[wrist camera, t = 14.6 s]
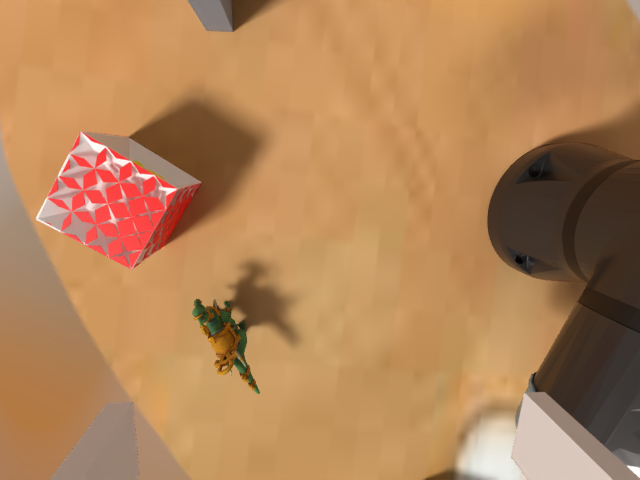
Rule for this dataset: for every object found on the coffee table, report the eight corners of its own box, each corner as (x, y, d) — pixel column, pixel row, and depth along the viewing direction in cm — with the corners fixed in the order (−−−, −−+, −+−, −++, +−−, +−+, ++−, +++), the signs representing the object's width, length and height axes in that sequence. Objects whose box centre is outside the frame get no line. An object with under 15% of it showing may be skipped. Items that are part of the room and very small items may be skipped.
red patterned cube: (202, 182, 34) (178, 189, 27) (164, 245, 36) (131, 269, 28) (127, 136, 33) (79, 130, 25) (91, 204, 34) (34, 218, 26)
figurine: (218, 276, 37) (200, 309, 29) (273, 360, 40) (270, 410, 32) (193, 290, 37) (168, 325, 29) (250, 372, 40) (241, 425, 32)
